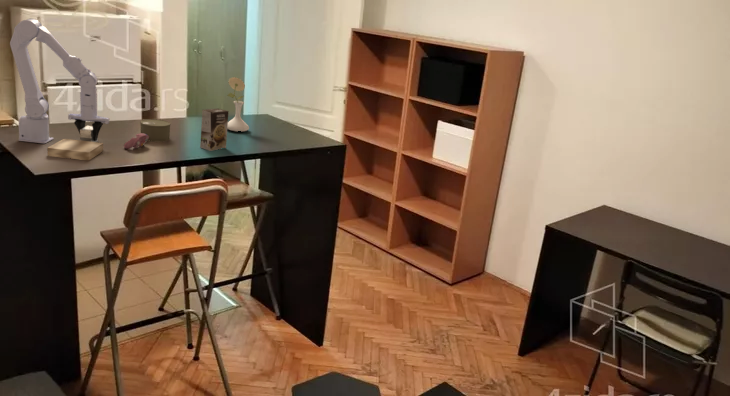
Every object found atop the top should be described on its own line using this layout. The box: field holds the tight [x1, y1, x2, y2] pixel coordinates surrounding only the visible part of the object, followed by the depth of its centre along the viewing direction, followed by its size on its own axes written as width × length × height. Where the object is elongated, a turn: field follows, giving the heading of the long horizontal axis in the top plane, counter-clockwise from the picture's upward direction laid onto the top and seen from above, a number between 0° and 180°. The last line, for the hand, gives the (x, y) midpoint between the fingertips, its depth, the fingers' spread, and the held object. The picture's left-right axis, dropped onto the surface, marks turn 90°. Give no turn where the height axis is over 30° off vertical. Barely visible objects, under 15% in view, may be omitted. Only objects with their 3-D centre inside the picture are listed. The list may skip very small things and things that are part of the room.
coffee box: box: [199, 108, 229, 152], centre depth 241 cm, size 9×6×16 cm
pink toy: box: [123, 132, 149, 150], centre depth 229 cm, size 10×5×7 cm, turn 169°
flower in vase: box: [226, 76, 250, 132], centre depth 275 cm, size 13×11×25 cm
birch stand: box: [46, 138, 104, 162], centre depth 211 cm, size 14×14×3 cm
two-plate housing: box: [79, 125, 99, 143], centre depth 225 cm, size 4×7×6 cm, turn 4°
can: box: [139, 118, 171, 143], centre depth 245 cm, size 12×12×7 cm
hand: (89, 139), depth 225 cm, fingers closed on two-plate housing, 4 cm apart
